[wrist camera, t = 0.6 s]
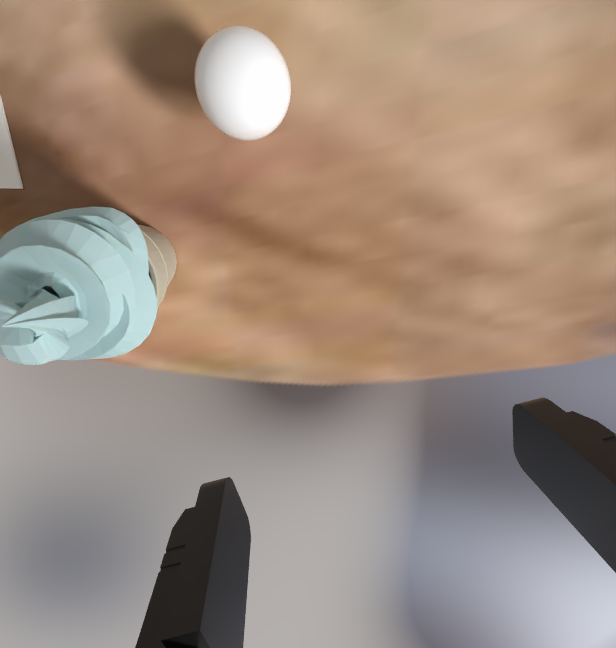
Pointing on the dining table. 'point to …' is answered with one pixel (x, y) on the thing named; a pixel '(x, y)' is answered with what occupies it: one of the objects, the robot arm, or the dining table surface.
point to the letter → (7, 156)
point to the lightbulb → (242, 82)
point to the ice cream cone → (80, 285)
